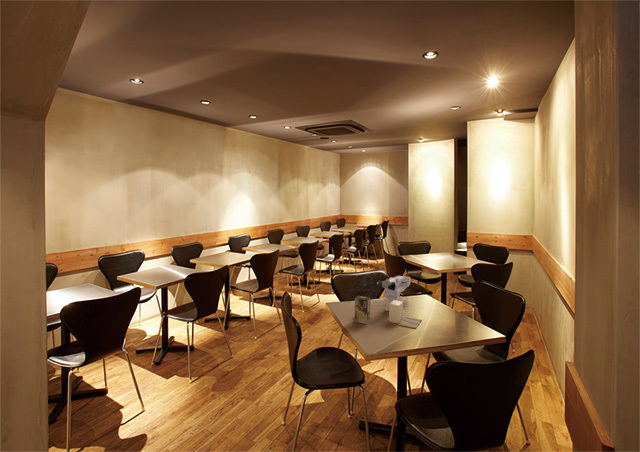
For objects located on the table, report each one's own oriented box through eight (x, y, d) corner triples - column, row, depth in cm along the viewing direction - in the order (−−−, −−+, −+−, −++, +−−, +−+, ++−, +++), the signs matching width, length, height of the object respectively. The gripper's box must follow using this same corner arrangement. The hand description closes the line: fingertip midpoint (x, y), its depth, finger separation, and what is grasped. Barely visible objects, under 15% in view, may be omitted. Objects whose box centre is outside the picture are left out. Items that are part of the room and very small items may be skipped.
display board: (404, 317, 228) (404, 316, 228) (421, 320, 222) (421, 320, 222) (397, 325, 214) (397, 324, 214) (415, 329, 208) (415, 328, 208)
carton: (393, 317, 228) (393, 300, 227) (402, 319, 225) (403, 301, 224) (388, 321, 221) (389, 303, 219) (398, 323, 217) (399, 305, 216)
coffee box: (370, 321, 221) (371, 297, 219) (367, 324, 215) (367, 300, 213) (357, 318, 225) (358, 295, 223) (354, 321, 219) (354, 297, 218)
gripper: (380, 276, 240) (373, 279, 228) (400, 279, 232) (393, 282, 221) (379, 286, 240) (372, 289, 228) (399, 289, 233) (393, 293, 221)
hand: (383, 286), depth 224 cm, fingers open, 7 cm apart
